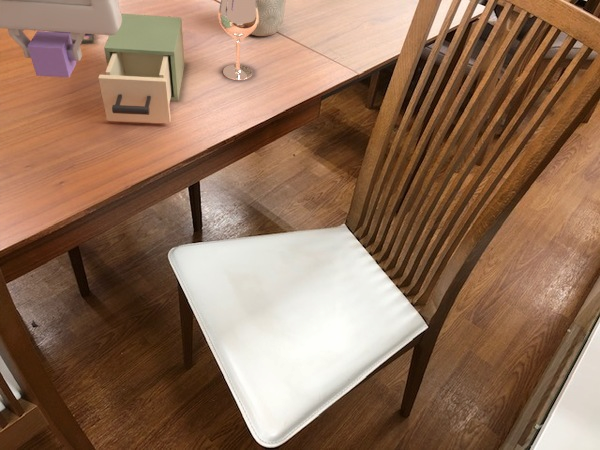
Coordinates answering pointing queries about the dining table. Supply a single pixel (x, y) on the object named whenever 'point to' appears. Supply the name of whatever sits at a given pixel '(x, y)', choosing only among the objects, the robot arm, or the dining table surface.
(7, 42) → the dining table surface
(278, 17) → the planter
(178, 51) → the green drawer cabinet
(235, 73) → the wineglass
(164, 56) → the cream drawer
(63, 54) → the purple cube
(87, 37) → the smartphone
